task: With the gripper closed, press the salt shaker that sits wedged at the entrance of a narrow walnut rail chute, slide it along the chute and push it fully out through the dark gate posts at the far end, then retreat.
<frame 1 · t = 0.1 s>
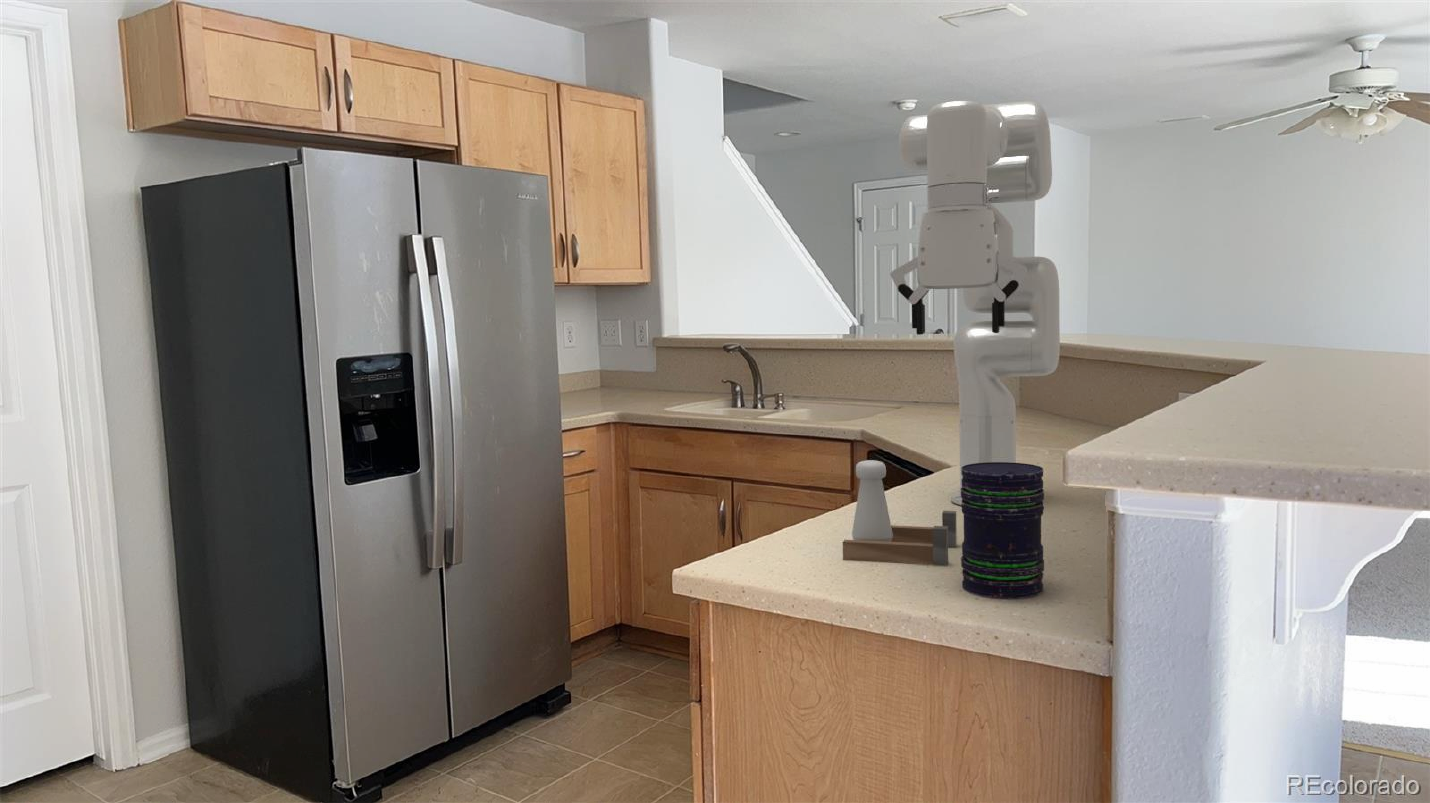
hand: (957, 333, 132), 31 cm above the countertop, fingers open, 9 cm apart
chute: (900, 551, 144), on the countertop
salt shaker: (872, 551, 145), on the countertop
dark blue cylinder: (1002, 589, 125), on the countertop
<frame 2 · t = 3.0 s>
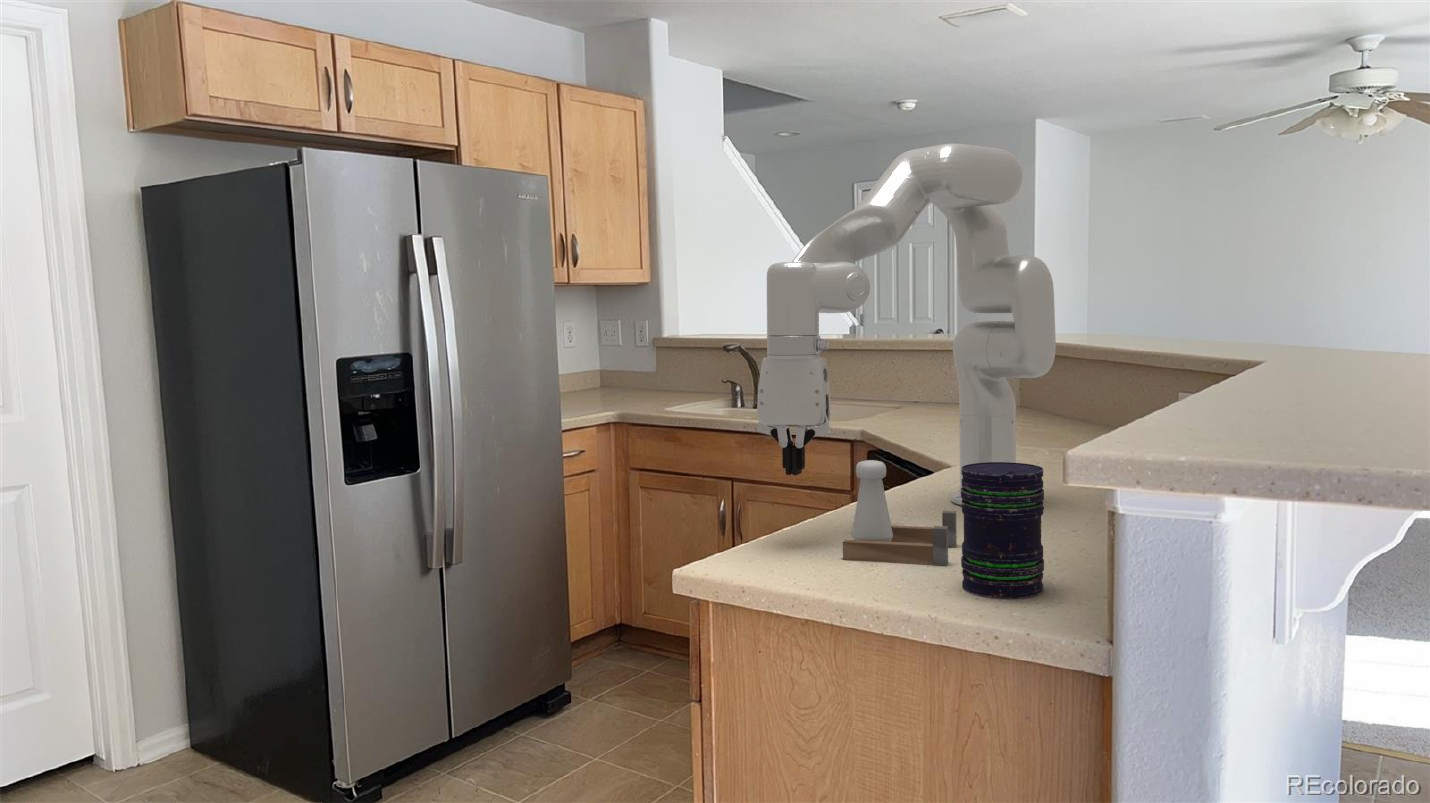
hand: (793, 473, 147), 11 cm above the countertop, fingers closed
nothing on the countertop moved.
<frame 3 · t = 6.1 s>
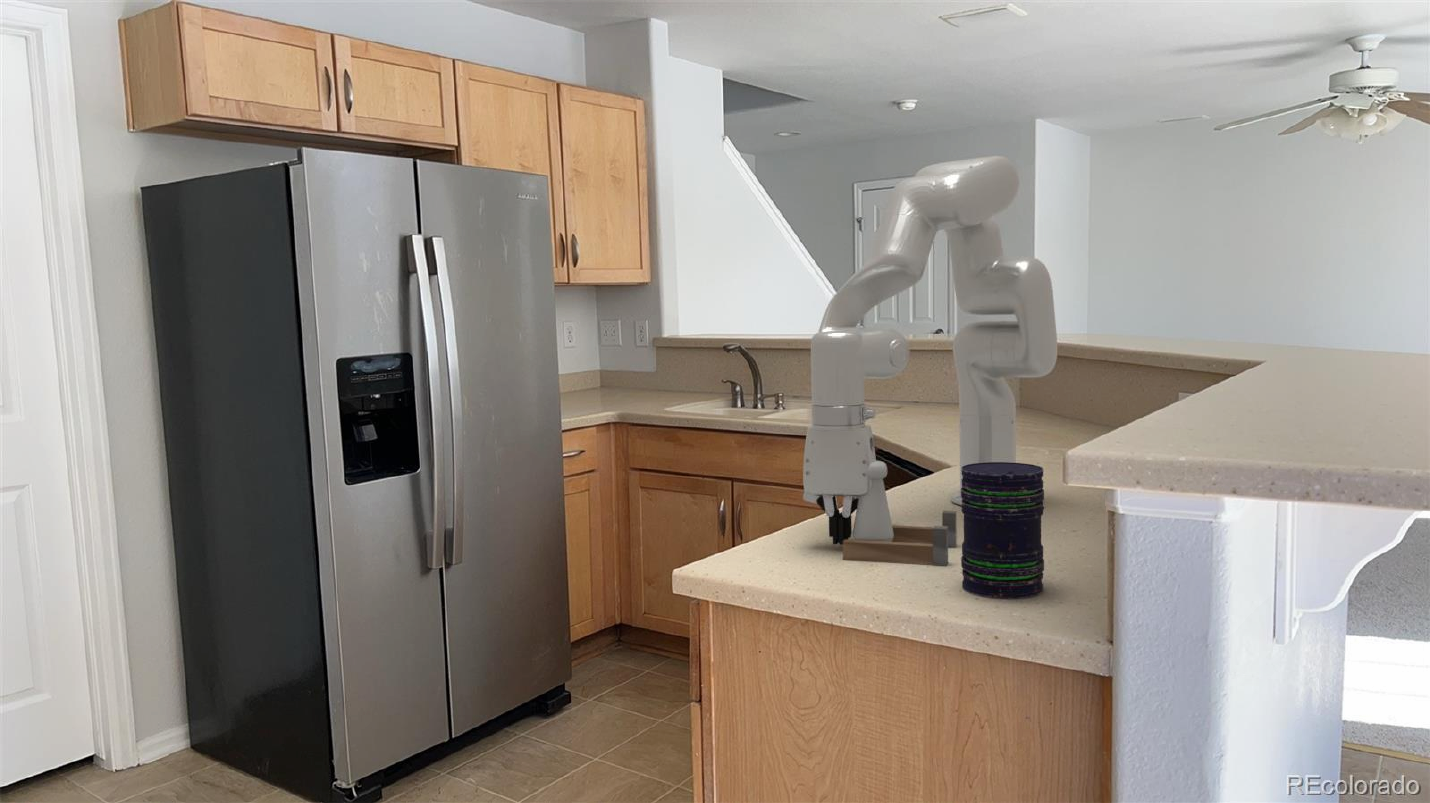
hand: (840, 542, 146), 1 cm above the countertop, fingers closed
salt shaker: (873, 551, 145), on the countertop, touching gripper
everything else where it was.
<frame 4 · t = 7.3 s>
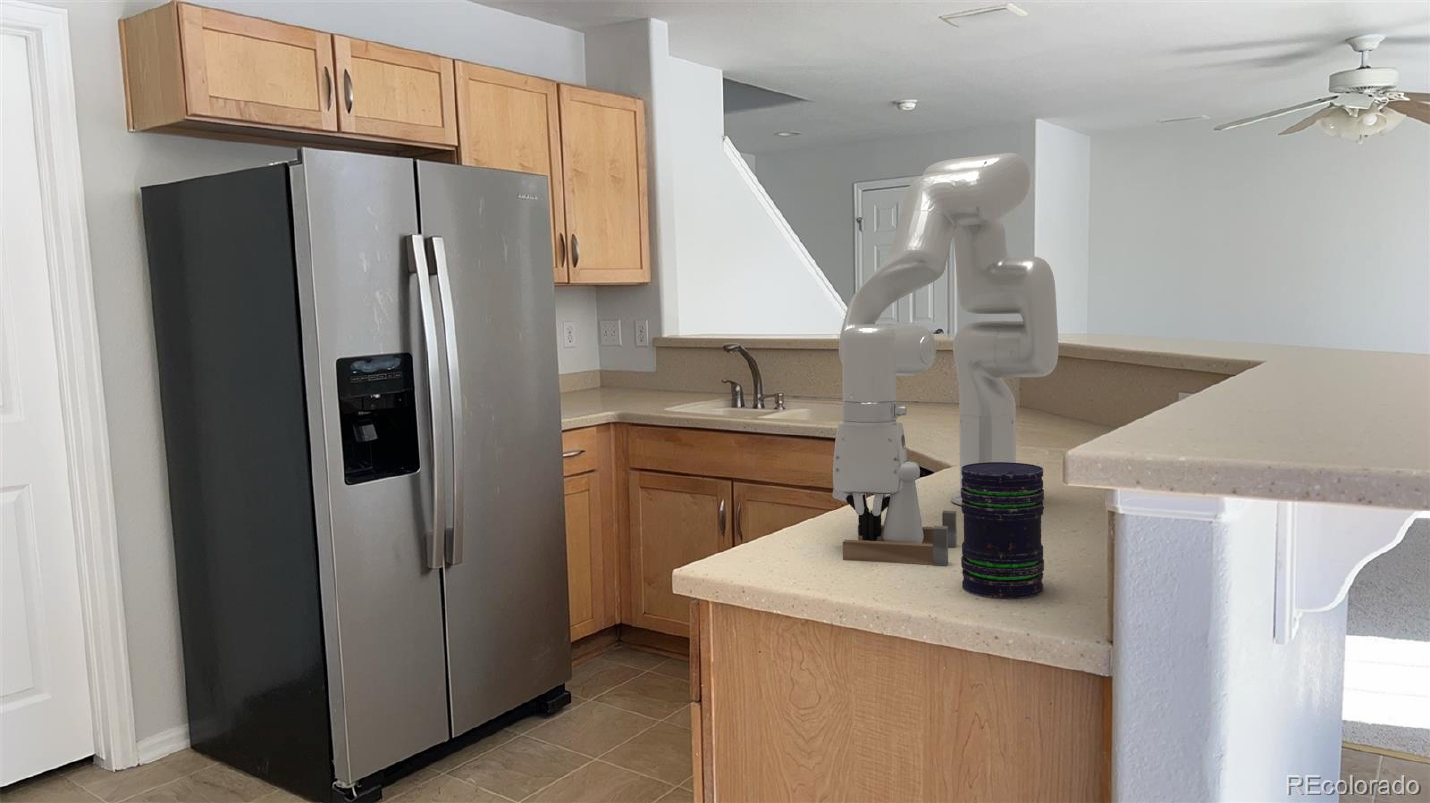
hand: (870, 540, 144), 2 cm above the countertop, fingers closed
salt shaker: (901, 553, 143), on the countertop, touching gripper
everything else where it was.
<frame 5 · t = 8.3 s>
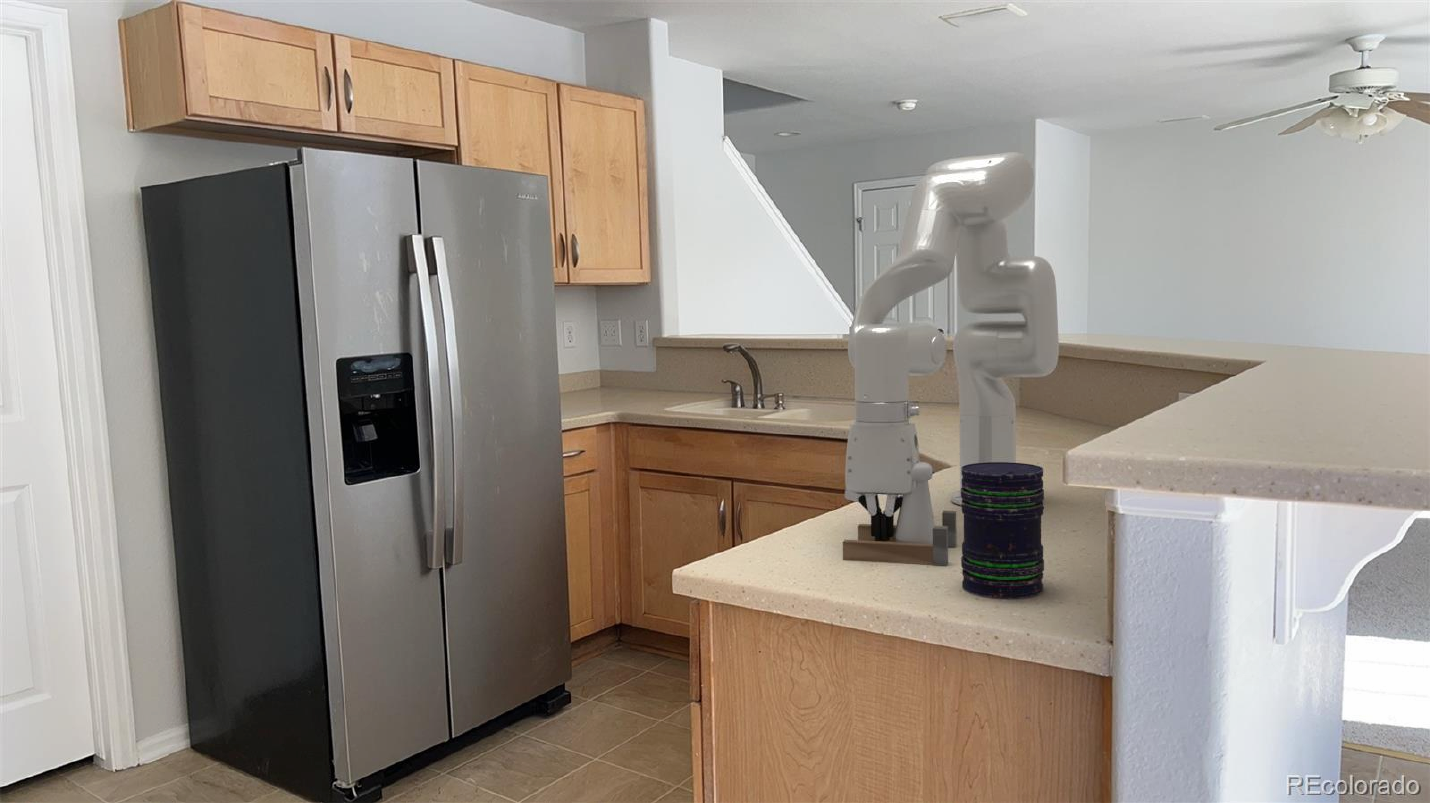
hand: (882, 541, 144), 2 cm above the countertop, fingers closed
salt shaker: (914, 554, 143), on the countertop, touching gripper
everything else where it was.
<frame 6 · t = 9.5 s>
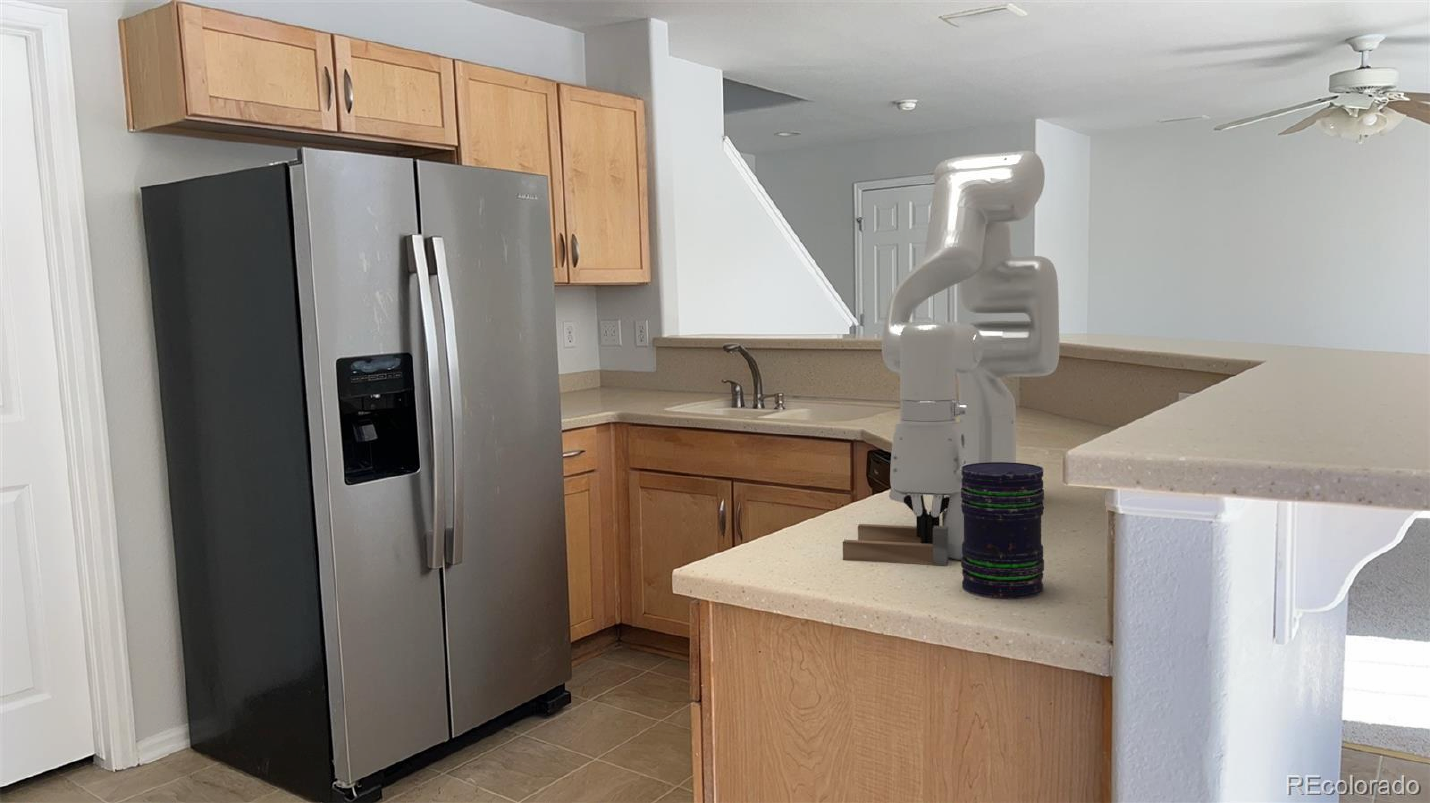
hand: (928, 542, 141), 2 cm above the countertop, fingers closed
salt shaker: (960, 557, 140), on the countertop, touching gripper
everything else where it was.
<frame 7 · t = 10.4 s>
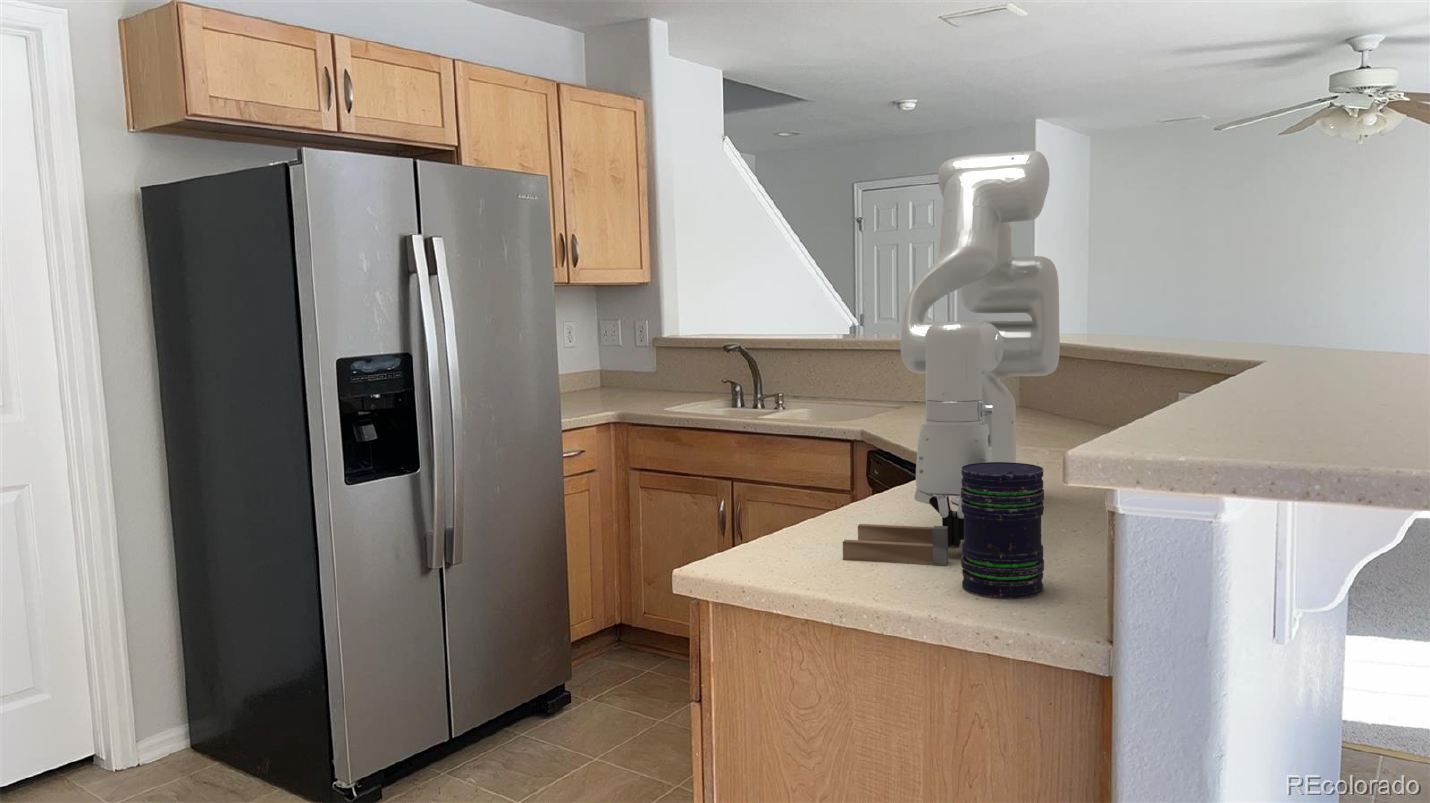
hand: (954, 544, 140), 2 cm above the countertop, fingers closed
salt shaker: (986, 559, 139), on the countertop, touching gripper
everything else where it was.
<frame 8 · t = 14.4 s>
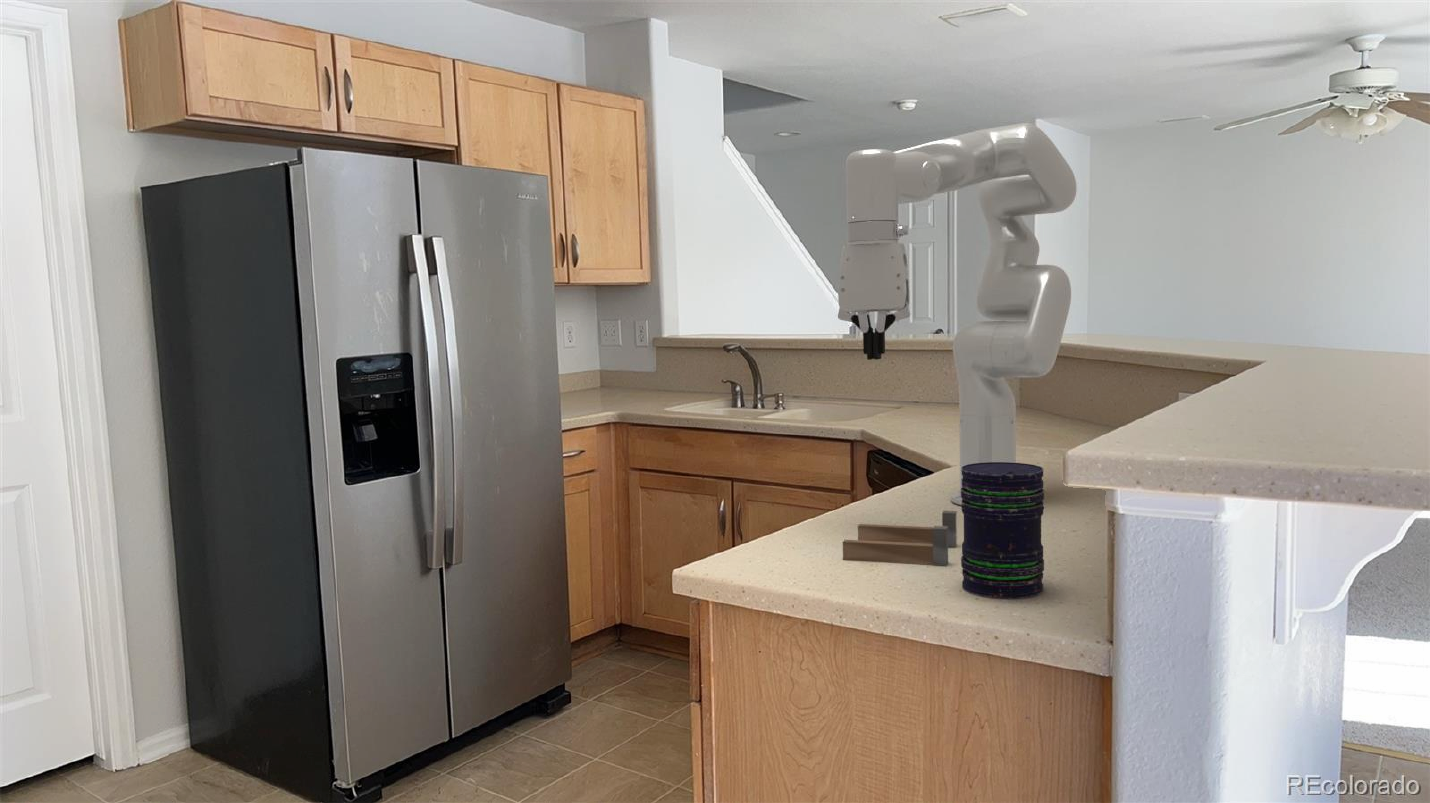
hand: (874, 358, 151), 27 cm above the countertop, fingers closed
salt shaker: (987, 559, 139), on the countertop
everything else where it was.
at the end: salt shaker inside the target area (1.8 cm from its centre), on the countertop; salt shaker tilted 0°; salt shaker touching countertop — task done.
